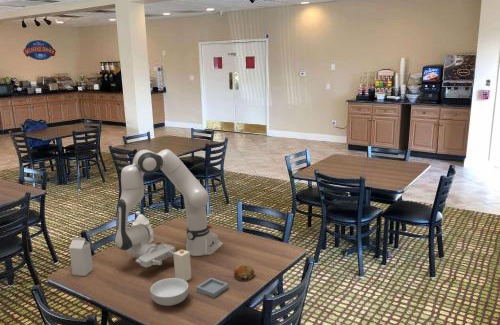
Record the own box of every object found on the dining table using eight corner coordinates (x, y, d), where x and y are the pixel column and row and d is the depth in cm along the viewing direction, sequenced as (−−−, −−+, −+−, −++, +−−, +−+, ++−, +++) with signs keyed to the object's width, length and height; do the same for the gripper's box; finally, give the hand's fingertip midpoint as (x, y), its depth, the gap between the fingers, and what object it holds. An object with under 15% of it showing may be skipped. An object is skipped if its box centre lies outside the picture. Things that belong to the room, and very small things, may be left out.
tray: (211, 282, 205) (211, 277, 204) (228, 288, 199) (228, 283, 198) (196, 291, 197) (196, 286, 196) (213, 298, 191) (213, 293, 190)
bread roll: (255, 281, 212) (257, 265, 214) (249, 282, 203) (251, 265, 204) (237, 278, 215) (239, 262, 217) (230, 279, 206) (232, 262, 207)
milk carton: (85, 276, 214) (81, 241, 209) (72, 275, 215) (68, 240, 211) (93, 269, 221) (89, 235, 216) (80, 268, 222) (76, 234, 218)
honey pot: (127, 243, 252) (124, 214, 248) (140, 235, 264) (137, 207, 260) (145, 246, 248) (143, 217, 244) (158, 237, 259) (155, 209, 255)
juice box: (183, 275, 212) (181, 246, 209) (191, 278, 209) (189, 249, 206) (175, 279, 208) (173, 250, 205) (183, 282, 205) (181, 253, 202)
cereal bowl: (188, 310, 182) (187, 295, 180) (148, 313, 181) (147, 298, 179) (190, 290, 198) (189, 276, 197) (154, 292, 197) (153, 278, 196)
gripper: (133, 254, 212) (151, 261, 204) (163, 240, 228) (182, 246, 220) (134, 266, 214) (152, 273, 205) (164, 251, 230) (182, 258, 221)
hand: (168, 259), depth 213 cm, fingers open, 8 cm apart
